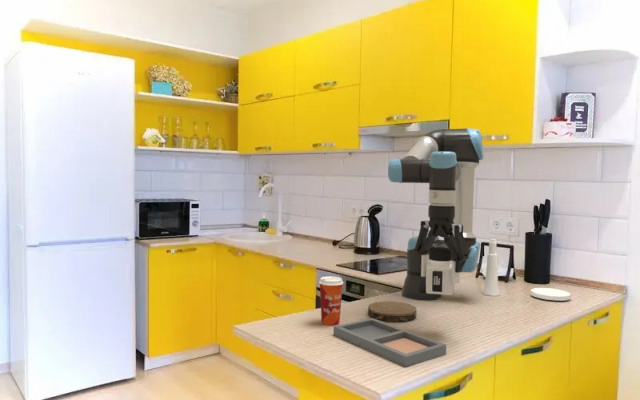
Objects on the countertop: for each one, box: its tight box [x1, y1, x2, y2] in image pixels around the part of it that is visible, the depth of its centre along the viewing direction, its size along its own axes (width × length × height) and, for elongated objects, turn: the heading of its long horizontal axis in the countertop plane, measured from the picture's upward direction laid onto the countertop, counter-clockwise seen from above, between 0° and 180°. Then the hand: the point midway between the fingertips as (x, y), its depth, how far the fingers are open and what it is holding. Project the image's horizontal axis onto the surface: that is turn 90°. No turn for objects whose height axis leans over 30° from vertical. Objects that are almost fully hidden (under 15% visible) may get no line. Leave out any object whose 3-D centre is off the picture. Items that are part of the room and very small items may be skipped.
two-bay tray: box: [333, 317, 447, 368], centre depth 134 cm, size 28×15×2 cm, turn 37°
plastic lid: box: [530, 287, 572, 302], centre depth 189 cm, size 14×14×2 cm
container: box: [426, 247, 455, 296], centre depth 143 cm, size 8×8×13 cm
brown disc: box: [367, 300, 417, 324], centre depth 161 cm, size 16×16×3 cm
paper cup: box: [318, 275, 344, 326], centre depth 152 cm, size 8×8×14 cm
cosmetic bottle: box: [482, 238, 500, 297], centre depth 192 cm, size 6×6×22 cm
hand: (439, 279), depth 143 cm, fingers closed on container, 10 cm apart
